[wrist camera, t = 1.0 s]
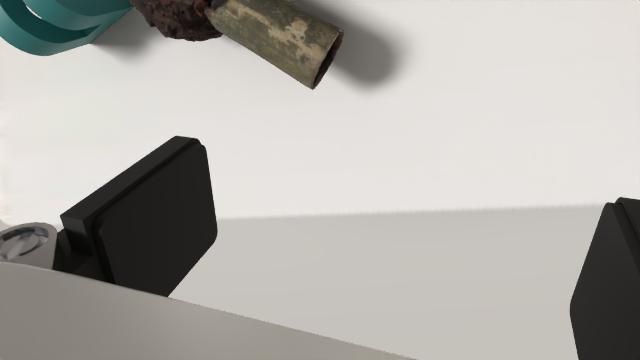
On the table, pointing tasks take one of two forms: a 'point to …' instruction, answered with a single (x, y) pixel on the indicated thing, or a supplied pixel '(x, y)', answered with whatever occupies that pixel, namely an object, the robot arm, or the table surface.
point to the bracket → (57, 23)
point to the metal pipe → (253, 31)
